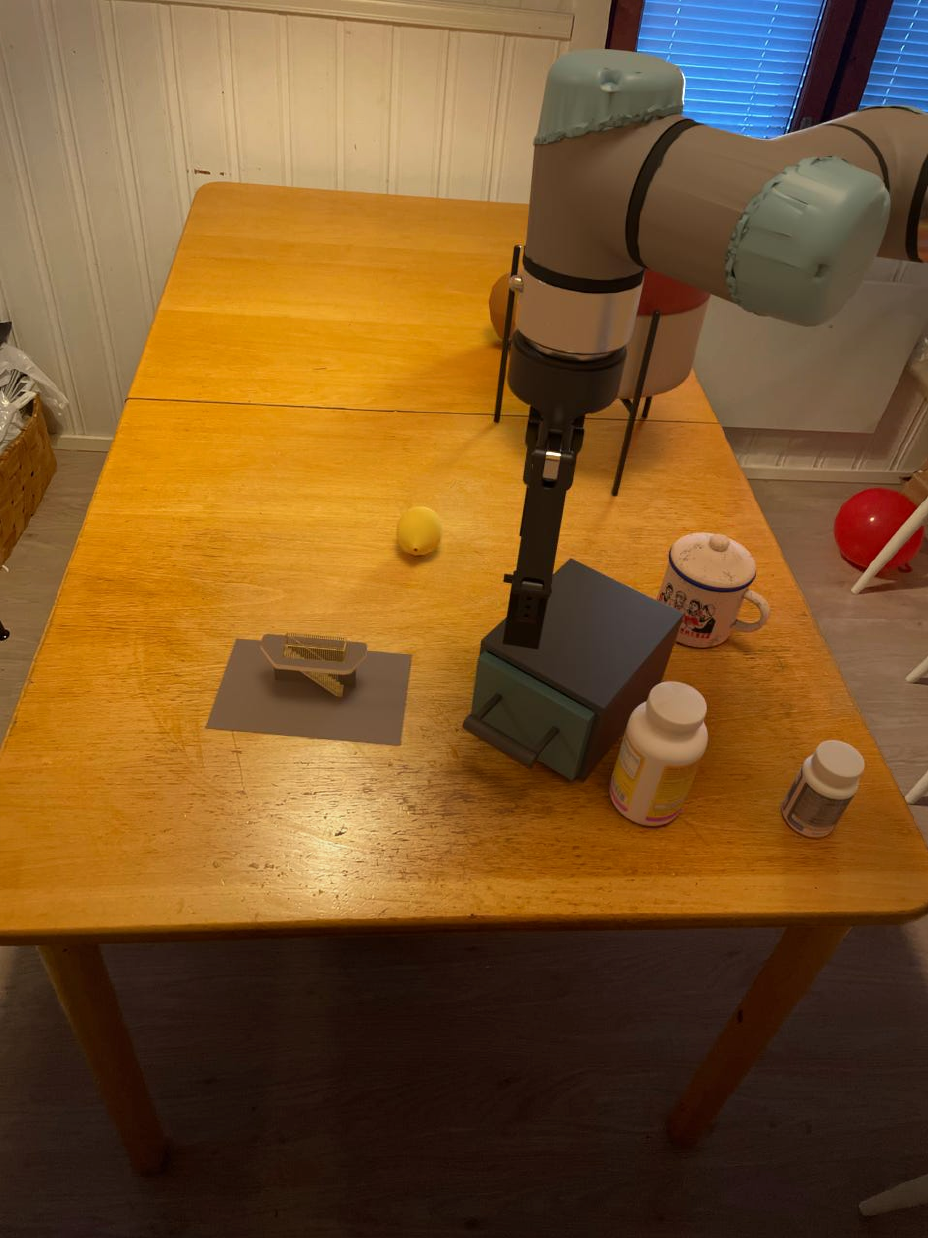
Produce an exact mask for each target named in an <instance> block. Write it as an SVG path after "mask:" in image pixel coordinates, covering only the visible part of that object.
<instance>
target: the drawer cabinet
mask: <svg viewBox="0 0 928 1238" xmlns="http://www.w3.org/2000/svg"><path fill="white" fill-rule="evenodd" d="M552 577H553V579H552V584H551V585H552V587H553V588H552V594H550V597H549V599H548V602H547V607H546V612H545V617H544V622H543V628H542V633H541V638H540V643H539V648H538V649H531V648H525V647H518V646H512V645H505V644H503V637H504V631H505V624H506V618H507V616H505V617H504V618H503V619H502V620H500V622H499V623H498V624H497V625H496V626H495V627H493V629H491V630H490V631H489V632H488V633H487V634H485V636H484V637H483V638H481V639H480V646H479V654H478V657H479V656H480V655H481V654H482V653H484V652H485V651H487V652H489V653H490V654H492V655H494V656H496V657H497V658H499V657H500V658H502V659H504V660H506V661H508V662H509V663H511V664H513V665H515V666H516V667H518V668H520V669H522V670H524V671H525V672H527V673H529V674H531V675H532V676H534V677H536V678H538V679H540V680H541V681H543V682H545V683H547V684H548V685H550V686H552V687H554V688H555V689H557V690H559V691H561V692H563V693H564V694H566V695H568V696H570V697H571V698H573V699H575V700H577V701H579V702H580V703H582V704H584V705H586V706H587V707H589V708H591V709H593V710H595V711H594V712H595V717H594V720H593V724H592V728H591V731H590V735H589V739H588V742H587V746H586V750H585V753H584V757H583V760H582V764H581V768H580V771H579V774H578V775H577V776H576V778H575V779H577V780H578V781H580V782H582V783H584V782H585V781H586V780H587V779H588V777H589V776H591V774H592V772H593V771H594V770H595V769H596V767H598V765H599V764H600V762H601V761H602V760H603V759H604V757H605V756H606V755H607V754H608V752H609V751H610V750H611V748H612V747H613V746H614V745H615V743H617V741H618V740H619V739H620V737H621V736H622V735H623V734H624V733H625V731H626V727H627V724H628V721H629V718H630V716H631V714H632V712H633V711H634V710H635V709H636V708H637V707H638V706H639V705H640V704H642V703H644V702H646V701H647V699H648V697H649V694H650V692H651V690H652V689H653V688H654V687H655V686H656V685H658V684H660V683H662V681H663V678H664V675H665V674H666V673H665V672H666V669H667V667H668V665H669V660H670V658H671V655H672V652H673V649H674V646H675V642H676V641H675V640H676V637H677V634H678V631H679V628H680V625H681V622H682V620H683V617H684V613H682V612H680V611H678V610H676V609H674V608H672V607H670V606H668V605H666V604H664V603H661V602H659V601H657V599H655V598H653V597H651V596H649V595H647V594H645V593H643V592H641V591H639V590H637V589H635V588H633V587H632V586H629V585H626V584H625V583H623V582H621V581H618V580H617V579H614V578H613V577H610V576H608V575H606V574H604V573H603V572H600V571H598V570H596V569H594V568H593V567H590V566H589V565H586V564H584V563H582V562H580V561H578V560H576V559H574V558H572V557H570V558H569V559H568V560H567V561H565V563H563V564H562V565H561V566H560V567H559V568H558V569H556V570H555V572H553V576H552Z"/></svg>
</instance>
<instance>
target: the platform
mask: <svg viewBox="0 0 928 1238" xmlns="http://www.w3.org/2000/svg"><path fill="white" fill-rule="evenodd" d="M331 638H332V639H331ZM412 657H413V654H409V653H399V652H390V651H389V652H388V651H377V650H369V649H368V644H367V643H366V642H363V641H350V640H348V637H346V636H337V635H336V636H334V635H323V634H314V633H305V632H304V633H303V632H302V633H301V632H293V631H286V632H285V634H276V633H275V634H274V633H266V634H263V635H262V637H261V640H258V639H249V638H248V639H246V638H237V637H236V638H235V641H234V644H233V647H232V649H231V653H230V655H229V659H228V661H227V664H226V666H225V669H224V673H223V676H222V679H221V681H220V685H219V687H218V690H217V693H216V696H215V697H214V700H213V701H214V702H213V704H212V707H211V710H210V712H209V716H208V718H207V722H206V724H205V727H204V728H205V729H214V730H225V731H235V732H236V731H237V732H246V733H257V734H258V733H259V734H267V735H268V734H269V735H277V736H291V737H302V738H313V739H322V740H323V739H325V740H335V741H345V742H355V743H366V744H367V743H368V744H378V745H379V744H380V745H390V746H391V745H392V746H401V742H402V735H403V734H402V733H403V727H404V726H403V725H404V720H405V712H406V704H407V696H408V688H409V681H410V680H409V679H410V673H411V665H412V659H413V658H412Z"/></svg>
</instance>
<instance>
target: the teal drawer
mask: <svg viewBox="0 0 928 1238" xmlns="http://www.w3.org/2000/svg"><path fill="white" fill-rule="evenodd" d="M476 661H477V662H476V668H475V669H476V670H475V678H474V686H473V693H472V700H471V708H470V714H467V716H466V717H465V718H464V720H463V722H462V726H461V727H462V730H464V731H466V732H467V733H469V734H471V735H472V736H474V737H476V738H477V739H479V740H480V741H482V742H484V743H486V744H487V745H489V746H490V747H492V748H494V749H495V750H497V751H499V752H500V753H502V754H503V755H505V756H507V757H508V758H510V759H512V760H513V761H515V762H516V763H518V764H520V765H521V766H522V767H525V768H526V769H528V770H532V769H533V768H534V767H535V766H536V764H537V763H538V762H540V763H541V764H543V765H545V766H547V767H548V768H550V769H552V770H553V771H555V772H556V773H558V774H560V775H561V776H563V777H564V778H566V779H567V780H569V781H571V782H573V781H574V780H575V779H577V778H576V776H577V775H578V774H579V771H580V768H581V764H582V760H583V757H584V753H585V750H586V746H587V742H588V739H589V735H590V731H591V728H592V724H593V720H594V717H595V712H594V711H595V710H593V709H591V708H589V707H587V706H586V705H584V704H582V703H580V702H579V701H577V700H575V699H573V698H571V697H570V696H568V695H566V694H564V693H563V692H561V691H559V690H557V689H555V688H554V687H552V686H550V685H548V684H547V683H545V682H543V681H541V680H540V679H538V678H536V677H534V676H532V675H531V674H529V673H527V672H525V671H524V670H522V669H520V668H518V667H516V666H515V665H513V664H511V663H509V662H508V661H506V660H504V659H502V658H500V657H499V658H497V657H496V656H494V655H492V654H490V653H489V652H487V651H485V652H484V653H482V654H481V655H480V656H479V655H478V657H477V660H476Z"/></svg>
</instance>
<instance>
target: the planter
mask: <svg viewBox="0 0 928 1238" xmlns="http://www.w3.org/2000/svg"><path fill="white" fill-rule="evenodd" d="M521 250H522V246H521V245H518V244H515V245H514V246H513V251H512V260H511V269H510V272H511V276H510V278H511V277H512V276H513V275H518V270H519V268H520V267H519V266H520V258H521ZM519 295H520V294H519ZM711 296H712V294H710V293H707V292H705V291H702V290H700V289H697V288H695V287H692V286H690V285H687V284H685V283H682V282H680V281H677V280H675V279H672V278H670V277H667V276H665V275H662V274H660V273H657V272H655V271H650V270H648V269H646V268H645V272H644V282H643V287H642V291H641V296H640V300H639V305H638V310H637V314H636V319H635V323H634V328H633V333H632V337H631V339H630V341H629V343H627V344H626V345H625V346H626V349H627V356H626V360H625V365H624V369H623V374H622V379H621V383H620V388H619V392H618V396H617V398H616V399H615V400H620V401H621V403H622V405H623V406H624V407H625V409H626V410H627V412H628V413H629V414H628V419H627V424H626V427H625V432H624V437H623V441H622V445H621V449H620V453H619V454H620V455H619V458H618V462H617V465H616V471H615V475H614V479H613V483H612V488H611V495H612V496H613V497H617V496H619V491H620V486H621V483H622V478H623V475H624V470H625V466H626V463H627V457H628V453H629V450H630V445H631V440H632V436H633V433H634V432H633V431H634V429H635V424H636V420H637V414H638V411H639V406H640V402H641V399H644V398H645V399H644V403H643V408H642V412H641V418H642V419H647V418H648V416H649V412H650V409H651V404H652V401H653V397H655V396H658V395H662V394H666V393H668V392H670V391H672V390H674V389H677V388H678V387H679V386H681V385H682V384H683V383H685V382H686V380H687V379H688V378H689V376H690V374H691V372H692V369H693V365H694V362H695V358H696V353H697V347H698V344H699V340H700V336H701V333H702V329H703V325H704V323H705V318H706V315H707V310H708V307H709V304H710V300H711ZM514 300H515V292H514V291H512V290H511V289H510V288H509V294H508V302H507V311H506V319H505V328H504V337H503V342H502V347H501V355H500V363H499V372H498V381H497V390H496V397H495V398H496V399H495V408H494V415H493V422H494V423H500V421H501V416H502V415H501V414H502V405H503V399H504V390H505V381H506V375H507V374H506V373H507V365H508V357H509V349H510V348H509V347H511V343H512V340H510V333H511V325H512V317H513V308H514ZM517 329H518V328H517V326H516V323H515V328H514V332H515V331H516V330H517ZM631 400H632V401H631Z"/></svg>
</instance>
